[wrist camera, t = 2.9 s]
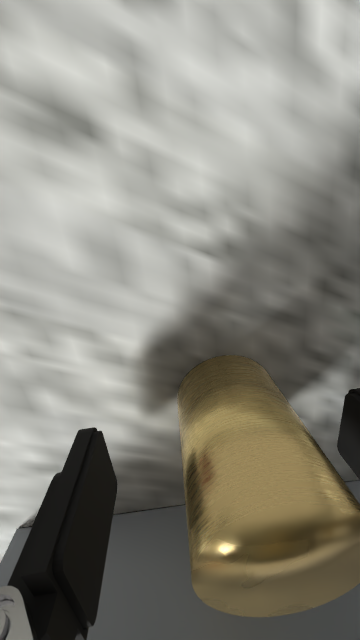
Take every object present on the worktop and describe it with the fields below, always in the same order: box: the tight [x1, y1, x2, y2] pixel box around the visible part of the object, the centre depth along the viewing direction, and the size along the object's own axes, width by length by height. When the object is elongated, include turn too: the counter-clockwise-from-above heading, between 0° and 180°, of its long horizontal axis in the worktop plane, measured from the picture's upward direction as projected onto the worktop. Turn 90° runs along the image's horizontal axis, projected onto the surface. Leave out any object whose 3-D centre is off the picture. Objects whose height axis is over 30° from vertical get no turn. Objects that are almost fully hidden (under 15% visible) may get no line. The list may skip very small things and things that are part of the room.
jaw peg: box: [177, 355, 360, 617], centre depth 8 cm, size 4×4×6 cm
